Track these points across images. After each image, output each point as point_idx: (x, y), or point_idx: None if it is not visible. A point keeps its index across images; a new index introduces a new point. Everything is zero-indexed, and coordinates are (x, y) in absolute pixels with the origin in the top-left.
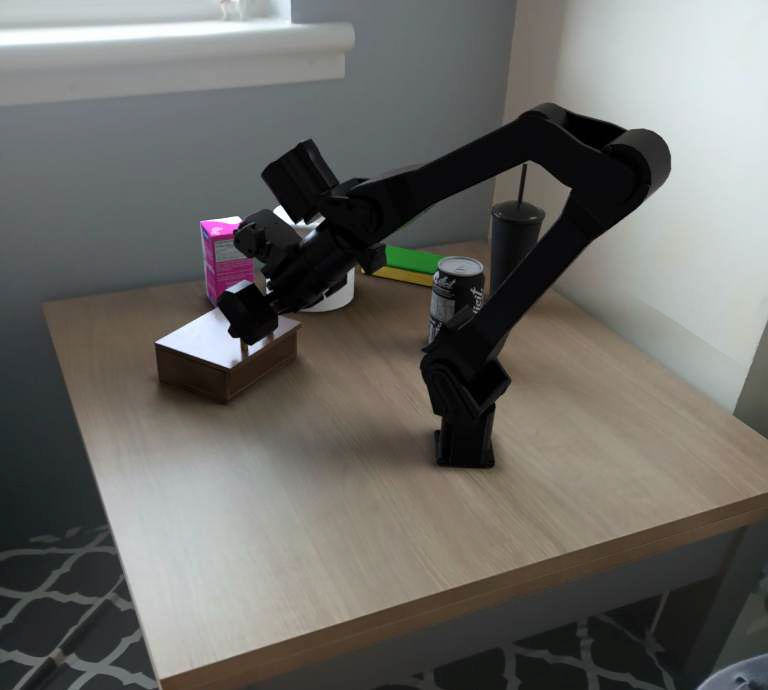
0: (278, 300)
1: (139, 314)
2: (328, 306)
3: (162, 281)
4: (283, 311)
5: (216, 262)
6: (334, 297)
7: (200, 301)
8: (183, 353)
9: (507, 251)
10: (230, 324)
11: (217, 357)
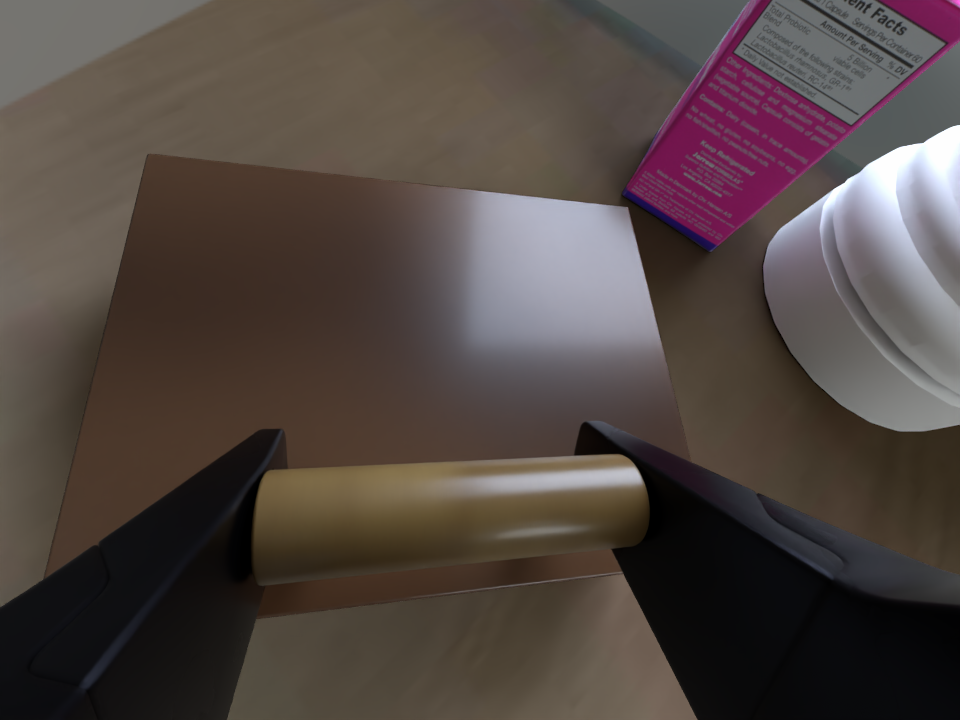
0: (689, 558)
1: (488, 55)
2: (867, 410)
3: (633, 33)
4: (650, 604)
5: (734, 53)
6: (912, 412)
7: (633, 131)
8: (112, 303)
9: None
10: (200, 472)
11: (140, 477)
